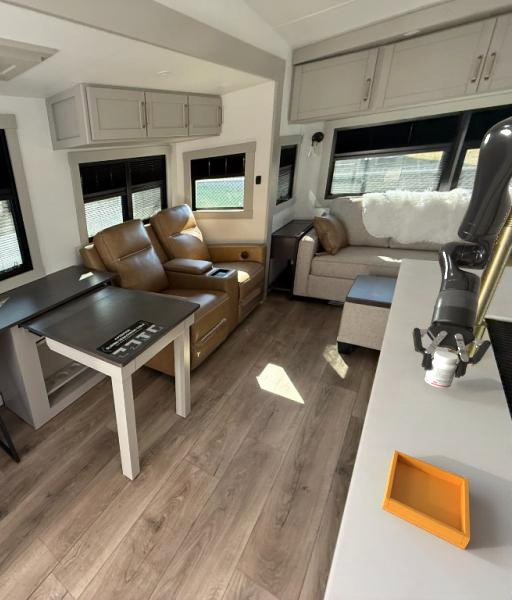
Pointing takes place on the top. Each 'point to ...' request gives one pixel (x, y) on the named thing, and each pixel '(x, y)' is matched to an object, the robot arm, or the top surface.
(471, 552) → the top surface
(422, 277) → the top surface
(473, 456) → the top surface
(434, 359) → the pill bottle
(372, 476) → the top surface
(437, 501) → the amber tray
